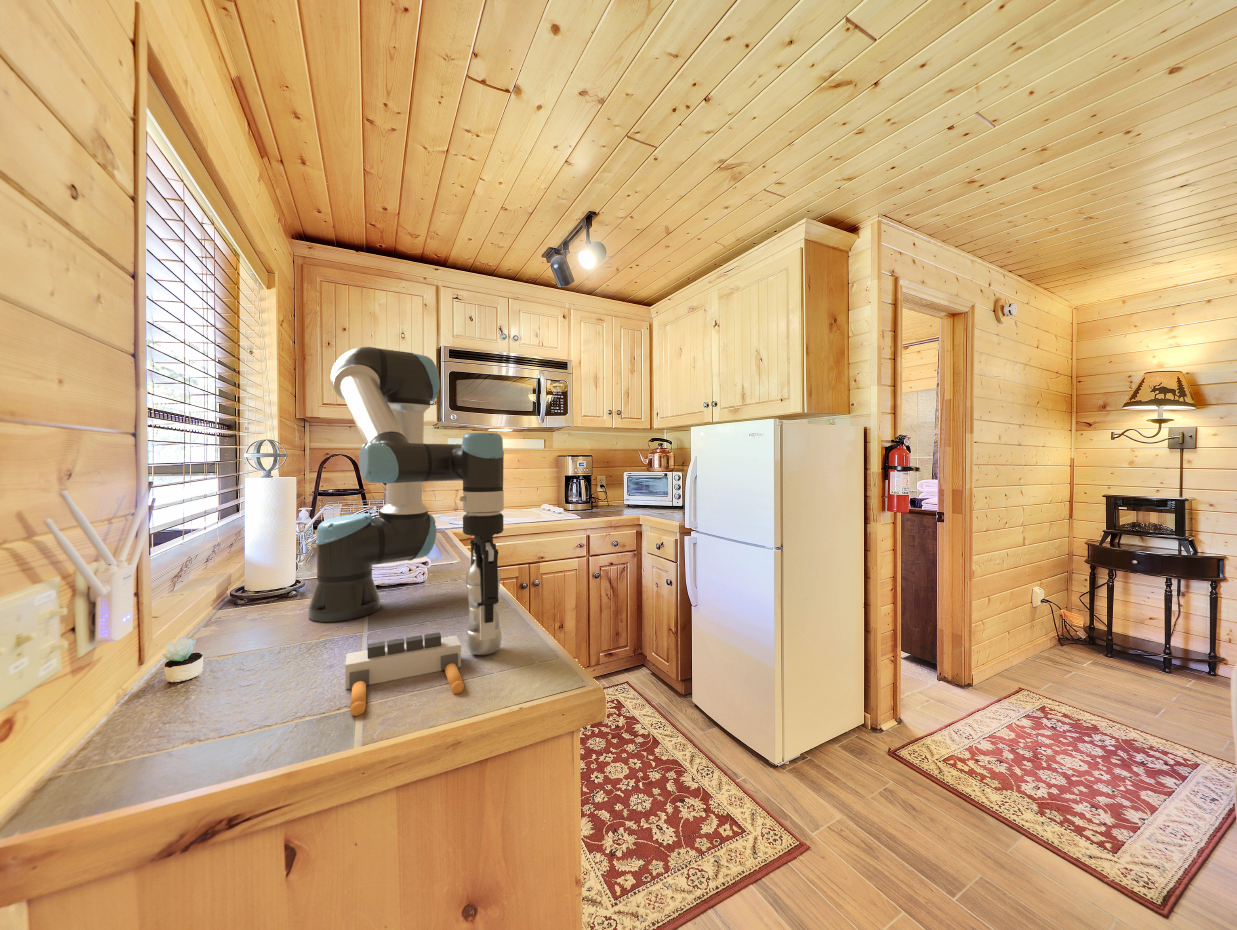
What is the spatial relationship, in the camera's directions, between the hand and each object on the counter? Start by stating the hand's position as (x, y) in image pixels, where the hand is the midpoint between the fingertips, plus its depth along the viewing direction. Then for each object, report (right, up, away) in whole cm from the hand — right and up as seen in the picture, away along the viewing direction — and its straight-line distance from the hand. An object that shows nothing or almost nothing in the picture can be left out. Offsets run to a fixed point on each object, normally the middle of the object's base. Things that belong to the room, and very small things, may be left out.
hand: (483, 632), depth 91 cm
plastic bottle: (0, -4, 0) cm, 4 cm away
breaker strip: (-11, -4, -8) cm, 15 cm away
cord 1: (-14, -4, -19) cm, 24 cm away
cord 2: (-1, -4, -12) cm, 13 cm away
